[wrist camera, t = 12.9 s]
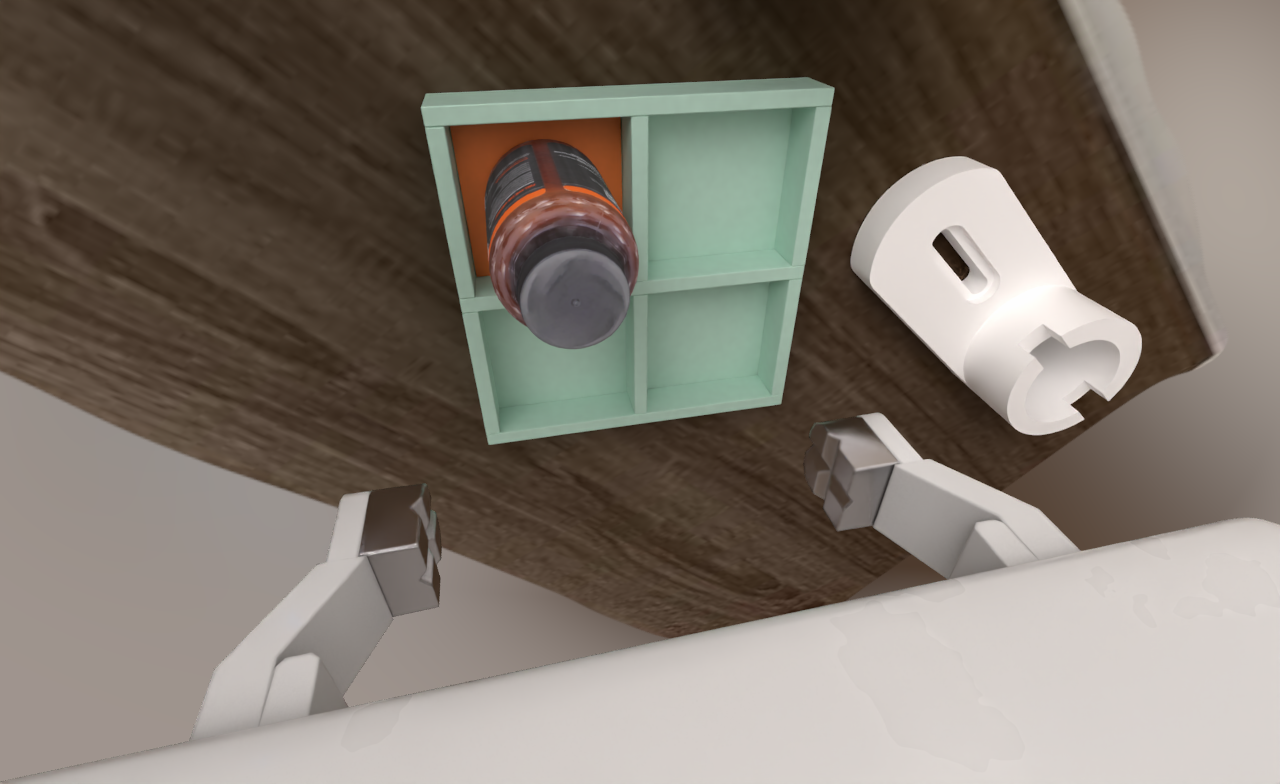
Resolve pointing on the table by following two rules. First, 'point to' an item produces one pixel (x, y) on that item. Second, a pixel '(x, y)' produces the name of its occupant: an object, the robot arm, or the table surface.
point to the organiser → (645, 245)
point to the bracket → (991, 296)
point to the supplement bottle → (558, 245)
